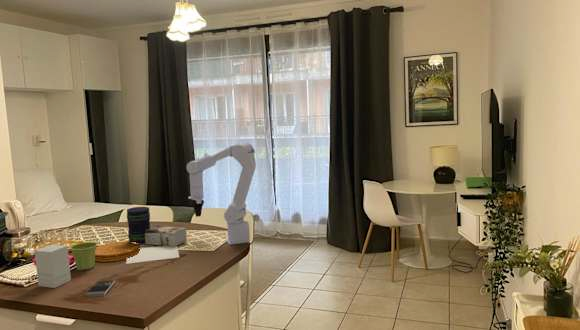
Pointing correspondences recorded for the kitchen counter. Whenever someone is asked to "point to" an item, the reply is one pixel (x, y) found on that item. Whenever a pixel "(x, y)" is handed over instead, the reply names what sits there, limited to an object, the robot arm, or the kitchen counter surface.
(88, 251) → the plant pot
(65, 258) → the supplement box
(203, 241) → the kitchen counter surface
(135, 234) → the storage jar
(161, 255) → the mat
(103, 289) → the cell phone
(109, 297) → the kitchen counter surface
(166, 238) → the coffee box
